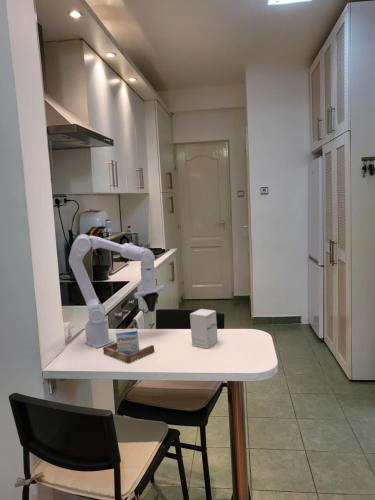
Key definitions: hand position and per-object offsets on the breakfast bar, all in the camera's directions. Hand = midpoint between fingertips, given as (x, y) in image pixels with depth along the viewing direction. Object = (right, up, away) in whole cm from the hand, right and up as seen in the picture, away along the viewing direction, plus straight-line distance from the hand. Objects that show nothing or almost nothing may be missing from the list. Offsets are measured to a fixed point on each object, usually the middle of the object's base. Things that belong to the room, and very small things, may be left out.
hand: (151, 311), depth 168 cm
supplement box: (+21, -11, -12) cm, 27 cm away
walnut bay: (-7, -13, -15) cm, 22 cm away
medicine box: (-7, -14, -14) cm, 21 cm away
